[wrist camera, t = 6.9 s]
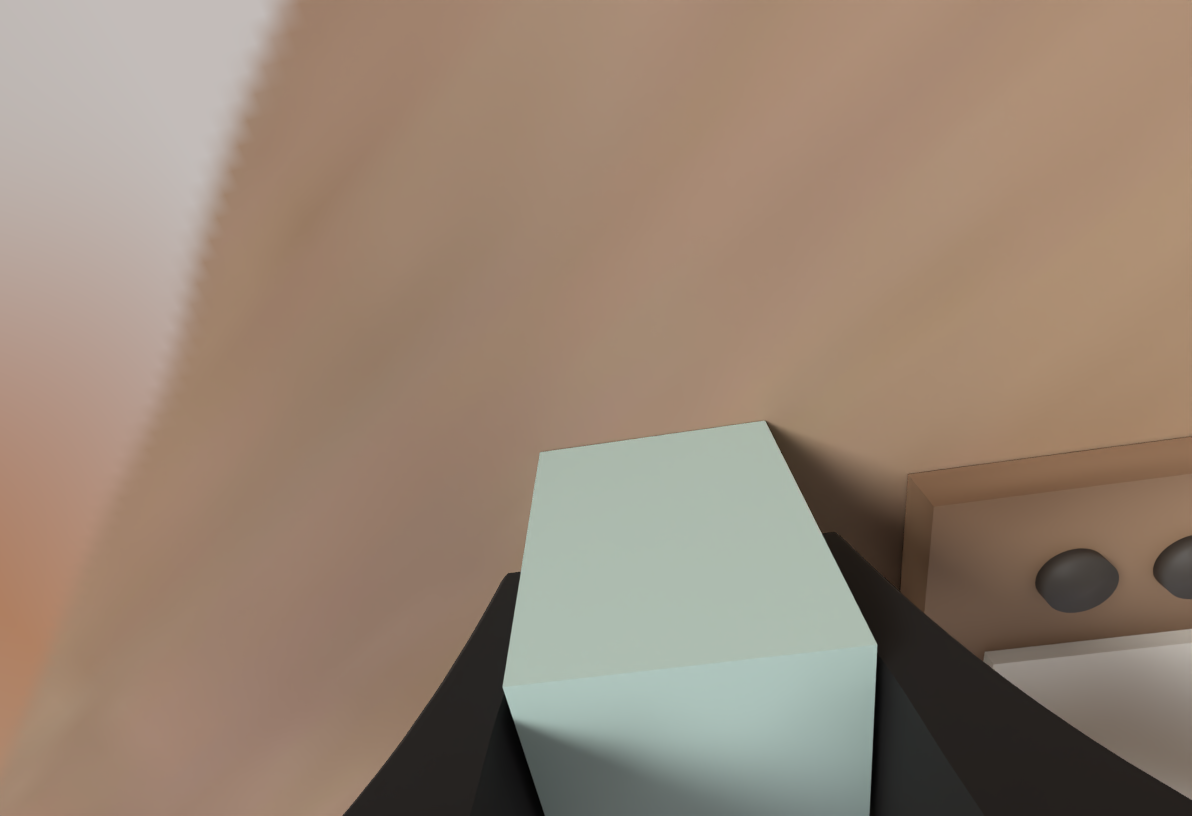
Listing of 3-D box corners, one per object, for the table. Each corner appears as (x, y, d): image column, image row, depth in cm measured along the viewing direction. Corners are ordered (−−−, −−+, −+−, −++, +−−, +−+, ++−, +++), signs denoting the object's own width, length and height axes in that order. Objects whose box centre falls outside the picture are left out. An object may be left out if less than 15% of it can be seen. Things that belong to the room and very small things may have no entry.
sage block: (774, 593, 13) (867, 862, 8) (579, 617, 13) (568, 887, 9) (764, 420, 11) (877, 645, 7) (540, 452, 11) (503, 687, 7)
